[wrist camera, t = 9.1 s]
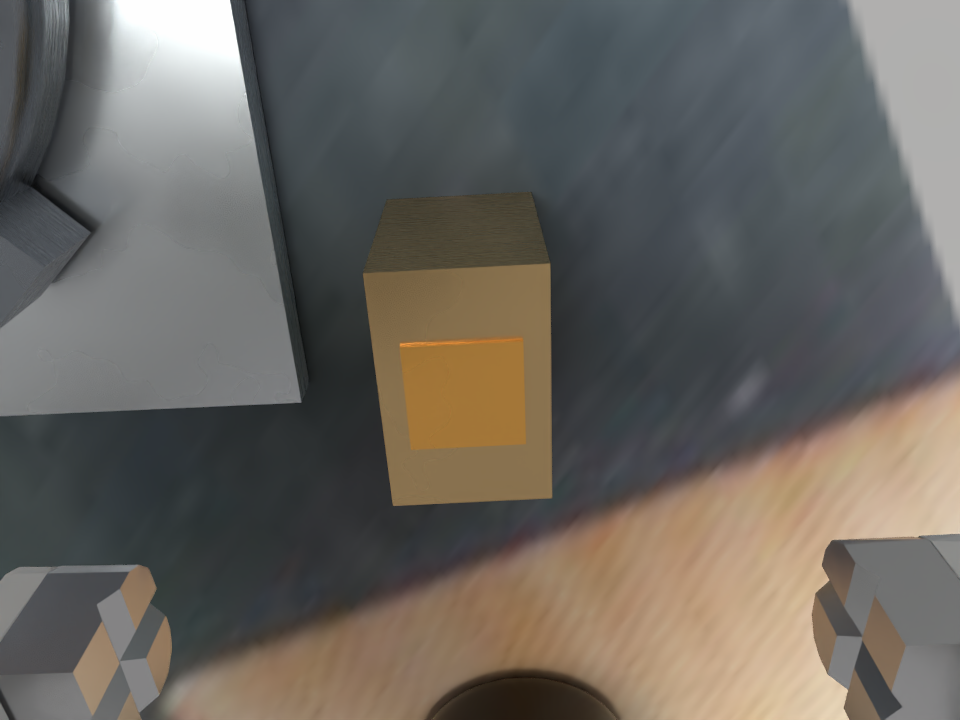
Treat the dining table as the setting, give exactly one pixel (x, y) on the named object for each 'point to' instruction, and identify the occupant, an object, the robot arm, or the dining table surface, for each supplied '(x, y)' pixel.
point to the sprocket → (30, 151)
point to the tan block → (462, 348)
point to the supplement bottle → (524, 702)
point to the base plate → (159, 224)
